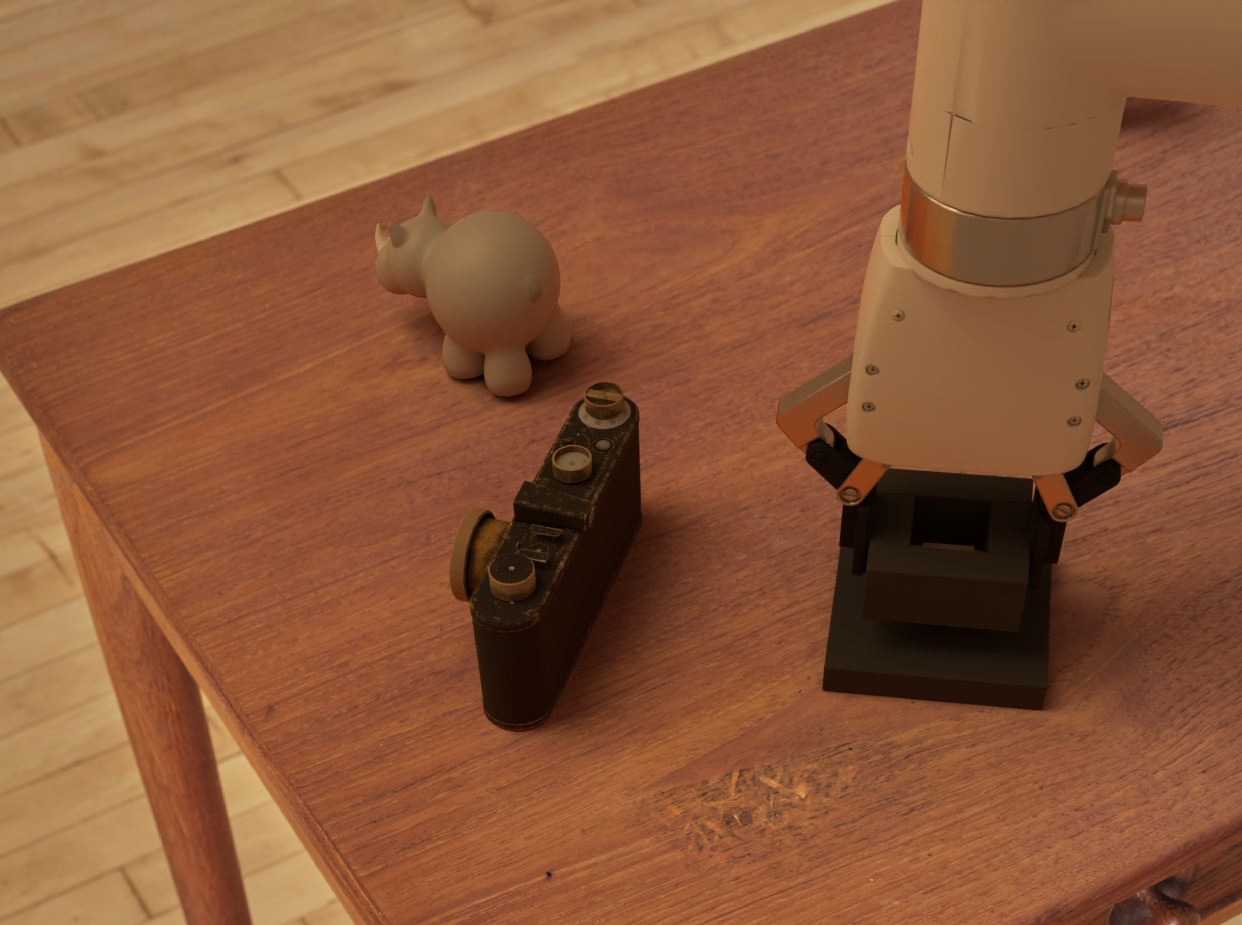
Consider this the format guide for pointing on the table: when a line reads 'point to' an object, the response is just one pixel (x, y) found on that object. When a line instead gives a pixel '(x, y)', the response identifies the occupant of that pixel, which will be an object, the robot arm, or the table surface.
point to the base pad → (937, 650)
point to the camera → (551, 558)
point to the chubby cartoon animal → (480, 291)
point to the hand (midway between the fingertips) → (945, 560)
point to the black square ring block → (945, 578)
